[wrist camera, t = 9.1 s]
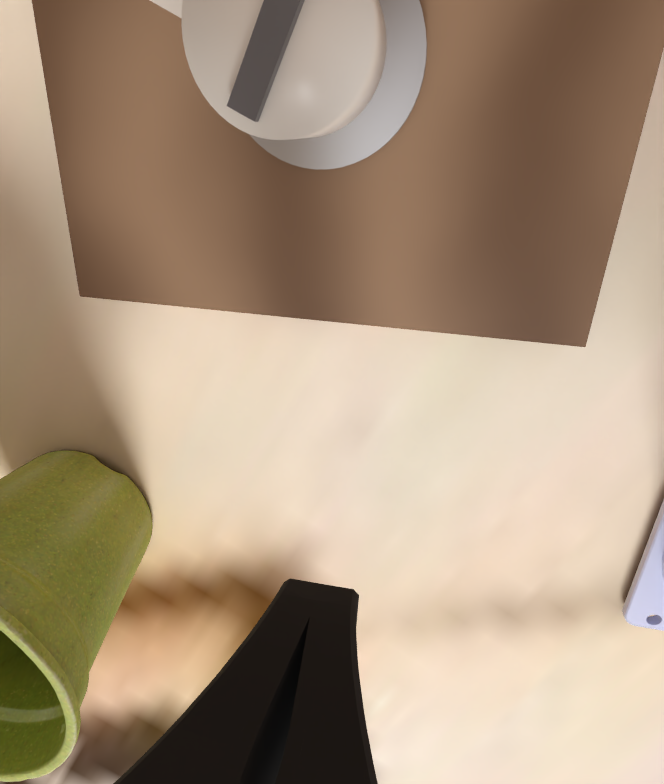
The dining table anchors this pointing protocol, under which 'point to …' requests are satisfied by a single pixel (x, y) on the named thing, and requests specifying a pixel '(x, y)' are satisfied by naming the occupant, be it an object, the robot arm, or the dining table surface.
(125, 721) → the dining table surface
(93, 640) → the plant pot
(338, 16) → the gray-tipped lever post
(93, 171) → the brown rectangular board
